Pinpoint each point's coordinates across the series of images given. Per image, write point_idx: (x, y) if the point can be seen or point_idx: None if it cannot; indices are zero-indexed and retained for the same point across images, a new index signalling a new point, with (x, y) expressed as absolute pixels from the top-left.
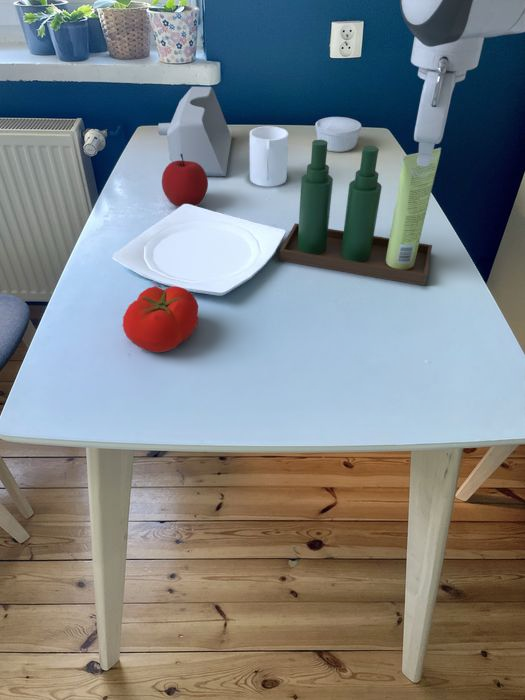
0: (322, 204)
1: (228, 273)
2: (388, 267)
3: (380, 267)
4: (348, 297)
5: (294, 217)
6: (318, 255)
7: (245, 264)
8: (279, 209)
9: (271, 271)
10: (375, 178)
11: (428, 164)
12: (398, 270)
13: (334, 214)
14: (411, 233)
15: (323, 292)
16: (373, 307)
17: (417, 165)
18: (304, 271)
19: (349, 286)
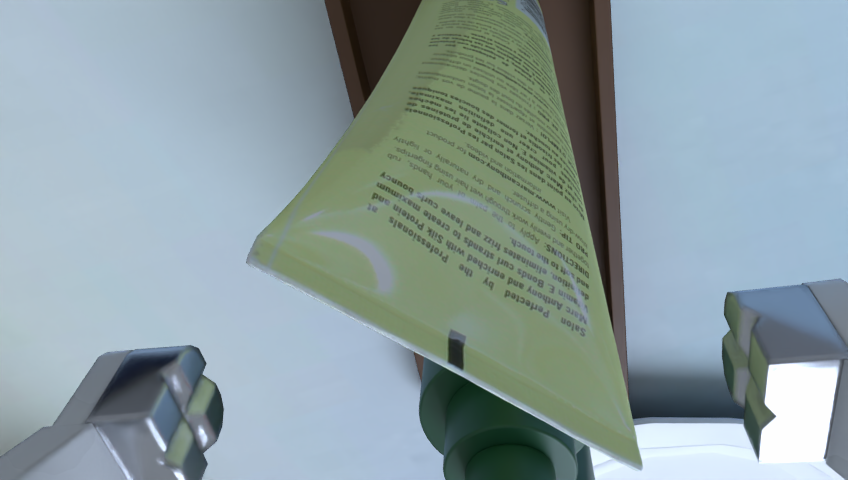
0: (579, 466)
1: (770, 470)
2: (599, 60)
3: (612, 90)
4: (781, 132)
5: (337, 430)
6: (615, 311)
7: (707, 453)
8: (316, 476)
9: (693, 384)
10: (540, 425)
11: (843, 288)
12: (609, 12)
13: (236, 341)
14: (542, 51)
15: (772, 217)
16: (829, 26)
17: (522, 315)
18: (658, 307)
19: (704, 152)
